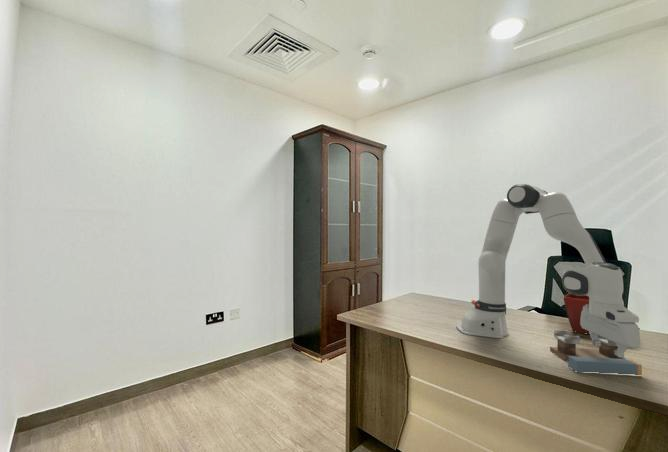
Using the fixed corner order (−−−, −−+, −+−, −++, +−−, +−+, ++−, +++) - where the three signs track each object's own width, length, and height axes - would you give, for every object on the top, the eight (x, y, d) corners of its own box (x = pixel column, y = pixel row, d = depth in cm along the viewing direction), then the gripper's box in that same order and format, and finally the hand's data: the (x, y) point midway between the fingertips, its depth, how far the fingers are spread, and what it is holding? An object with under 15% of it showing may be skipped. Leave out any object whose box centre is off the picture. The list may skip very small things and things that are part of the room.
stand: (565, 360, 109) (565, 333, 109) (550, 350, 118) (550, 325, 118) (629, 364, 107) (629, 336, 107) (608, 354, 116) (608, 328, 116)
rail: (576, 372, 100) (576, 361, 100) (568, 367, 104) (568, 355, 104) (641, 376, 98) (641, 364, 98) (631, 371, 102) (631, 359, 102)
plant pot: (569, 323, 154) (570, 291, 154) (620, 333, 140) (620, 297, 140) (562, 331, 141) (563, 296, 141) (618, 343, 127) (618, 304, 127)
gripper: (574, 302, 112) (575, 339, 111) (622, 318, 91) (623, 363, 91) (592, 303, 111) (593, 339, 111) (644, 318, 91) (645, 364, 90)
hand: (607, 350), depth 101 cm, fingers open, 8 cm apart
